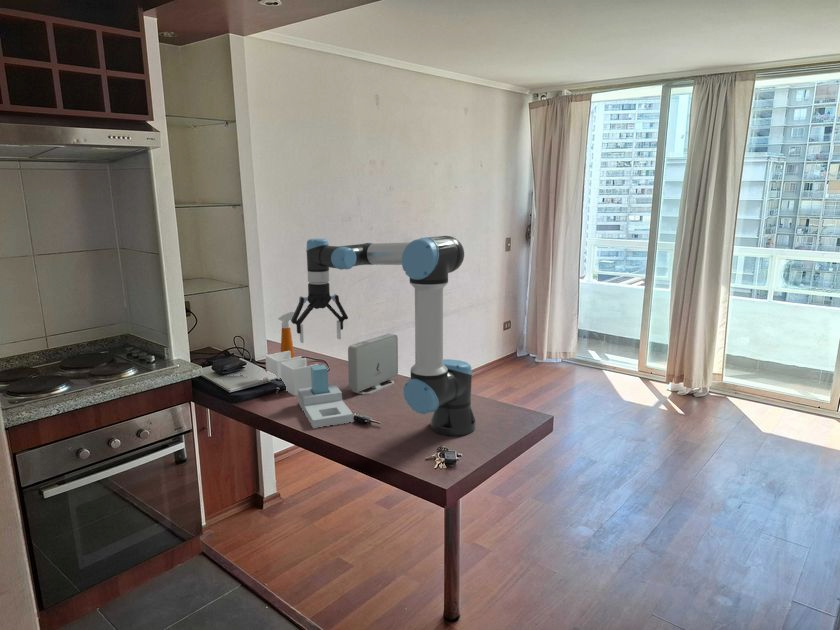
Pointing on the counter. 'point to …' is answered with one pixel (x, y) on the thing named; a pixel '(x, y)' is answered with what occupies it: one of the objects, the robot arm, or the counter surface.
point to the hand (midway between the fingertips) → (320, 340)
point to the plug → (319, 379)
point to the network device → (373, 363)
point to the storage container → (290, 370)
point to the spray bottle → (286, 333)
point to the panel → (324, 407)
